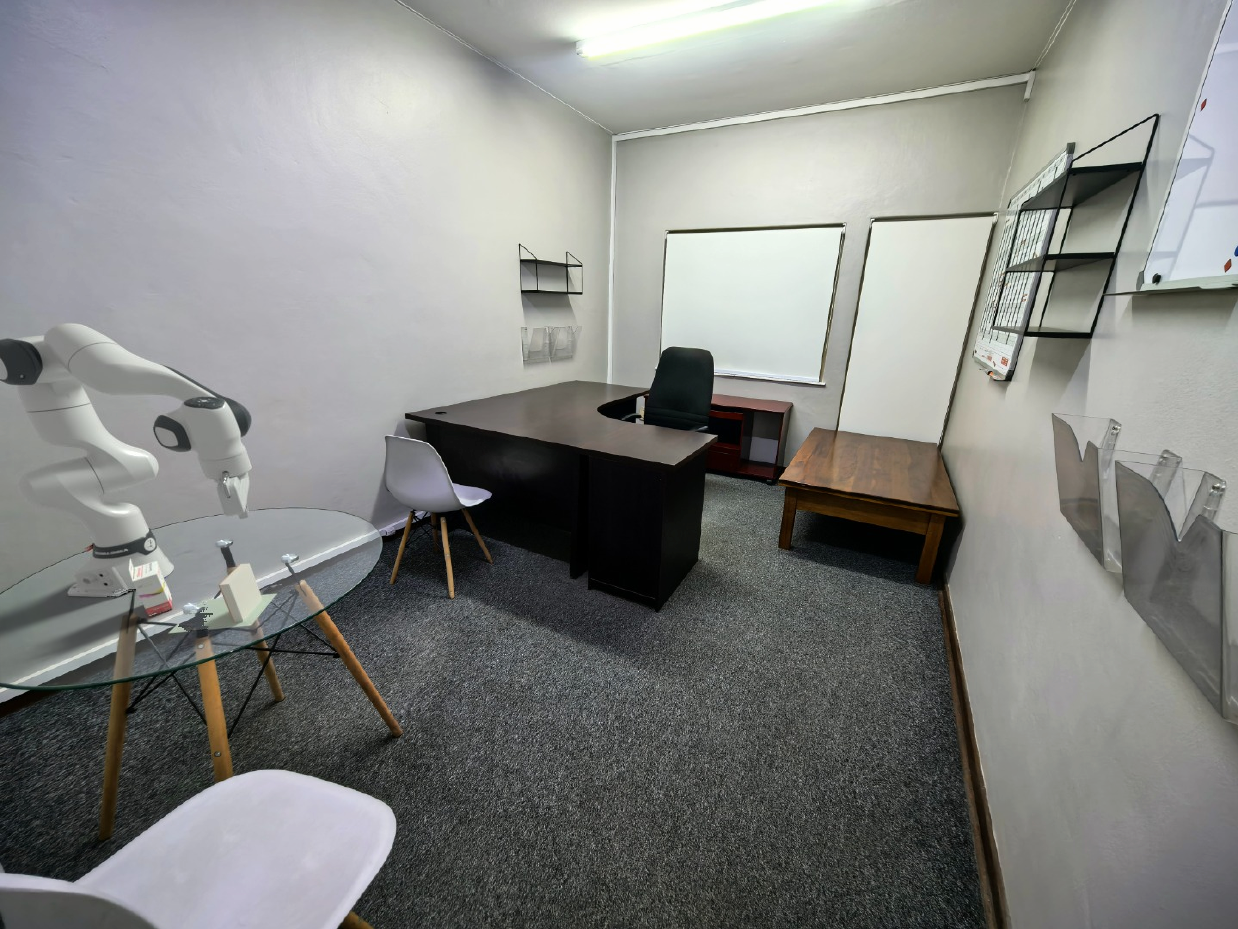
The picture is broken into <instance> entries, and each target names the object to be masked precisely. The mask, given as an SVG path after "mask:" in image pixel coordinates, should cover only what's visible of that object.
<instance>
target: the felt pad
mask: <svg viewBox="0 0 1238 929" xmlns="http://www.w3.org/2000/svg"><path fill="white" fill-rule="evenodd" d="M277 594H278V593H266V594H261V596H262V600H261V601H260V603H259V604H258V605H257V606H256V607H255V608H254V610H253V611H252V612H251V613H250V614H249V615H248V617H247V618H246V619H245V620H244V621H241V622H233V620H232V617H231V615H230V613H229V610H228V608H227V605H226V603H225V600H224V598H223V597H221V598H220V597H219V598H210V599H208V598H207V599H202V600H201V601H200V602H199V603H198V604H196V606H195V607H208V608H207V610H206V609H205V610H204V612H203V610H202V612H200V613H213V615H210V617H209V615H207V617H206V618H203V619H204V621H207V622H204V626H209V627H208V628H209V629H208V628H207V629H208V630H207V631H210V630H219V629H220V630H221V629H231V628H232V629H233V628H241V627H242V628H243V627H251V626H252V625H253V624H254V623H255V621H257V619H258V618H259V616H260V615H261V614H262V613H263V612H264V610H265V609H267V607H268V606H269V604H270V603H271V602H272V601H273V600H274V598H275V597H276V596H277ZM205 601H207V602H205ZM203 602H204V604H205V603H207V604H206V605H203ZM209 609H210V610H209ZM192 612H193V613H195V612H194V611H192V610H191V611H189V613H192ZM189 613H187V615H188V616H189ZM205 616H206V615H205ZM205 619H206V620H205ZM178 626H179V622H178V623H177V624H176V625H175V626H174V627H173V628H172V629H171V630H170V631H169V632H168V634H175V633H187V632H188V631H186V630H184V628H182V627H178ZM202 626H203V625H202ZM188 633H189V632H188Z"/></svg>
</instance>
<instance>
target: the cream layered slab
mask: <svg viewBox="0 0 1238 929" xmlns="http://www.w3.org/2000/svg"><path fill="white" fill-rule="evenodd" d="M218 587H219V590H220V592H221V595H222V598H224V600H225V603H226V605H227V608H228V610H229V613H230V615H231V617H232V620H233V622H241V621H244V620H245V619H246V618H247V617H248V615H249V614H250V613H251V612H252V611H253V610H254V608H255V607H256V606H257V605H258V604H259V603H260V601H261V600H262V596H261V595H262V592H261V591H260V589H259V585H258V582H257V580H256V578H255V575H254V571H253V569H252V566H251V563H240V564H238V565H237V566H236V567H235V568H234V569H233V570H232V571H231V572H229V574H228V575H227V576H226V577H225V578H224V579H223V580H222V581H221V582H220V583H219V584H218Z"/></svg>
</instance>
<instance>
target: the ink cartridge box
mask: <svg viewBox="0 0 1238 929" xmlns="http://www.w3.org/2000/svg"><path fill="white" fill-rule="evenodd" d="M129 574H130V577H131V580H132V583H133V585H134V587H135V589H136V590H135V591H136V593H137V595H138V597H139V599H140V601H141V603H142V606H143V607H144V609H145V611H146V613H147V615H148V616H149V615H152V614H154V613H160V612H163V613H165V611H166V612H168V611H167V610H169V611H171V610H170V609H172V610H173V598H172V597H171V595H172V594H171V592H170V588H169V586H168V584H167V582H166V580H165V578H164V577H163V575H162V573H161V570H160V568H159V566H158V563H157V561H155V562H151V563H148V564H144V565H141V566H138V567H134V568H133V564H132V561H131V559H130V561H129ZM160 614H161V613H160Z"/></svg>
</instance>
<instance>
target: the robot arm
mask: <svg viewBox="0 0 1238 929" xmlns="http://www.w3.org/2000/svg"><path fill="white" fill-rule="evenodd" d="M0 381H1V382H2V383H5V384H6V385H11V386H16V389H17V392H18V396H19V398H20V401H21V404H22V406H23V408H24V411H26V414H27V416H28V417H29V419H30V422H31V424H32V425H33V428H34V429H35V431H36V434H37V435H38V437H39V439H41V440H42V441H44V443H47V444H49V445H52V446H58V447H66V448H76V449H81V450H84V451H85V453H86V455H85V456H83V457H79V458H74V459H69V460H65V461H64V460H63V461H59V462H54V463H49V464H45V465H43V466H39V467H37V468H34V469H31V470H29V471H26V472H23V473H22V474H21V475H20V477H19V478H18V480H17V484H16V488H17V492H18V494H19V496H20V497H21V498H22V499H23V500H24V501H25V502H27V503H28V504H30V505H32V506H36V507H39V508H45V509H50V510H51V509H52V510H56V511H59V512H62V513H65V514H68V515H69V516H71V517H73V518H75V519H76V520H77V521H78V522H79V523H80V524H81V525H82V526H83V527H84V528H85V530H86V532H87V533H88V535H89V536H90V538H91V540H92V543H91V544H90V545H88V546H87V547H85V548H84V550H86V551H85V552H86V553H88V552H89V551H92V554H91V556H89V557H88V558H87V560H85V561H84V562H83V563H82V564H81V565H80V566H79V567H78V568H76V570H75V572H74V578H75V582H76V583H74V584H73V585H71V587H70V588H69V589H68V590H67V596H68V597H93V598H108V597H107V596H112V595H117V594H120V593H121V592H123V589H124V591H126V590H128V589H135V587H134V585H133V583H132V580H131V577H130V574H129V561H130V559H131V561H132V564H133V568H134V567H138V566H141V565H144V564H148V563H151V562H155V561H157V563H158V566H159V568H160V570H161V573H162V575H163V577H164V579H165V578H166V577H168V576H169V575H170V574H171V573H172V572H173V571H174V569H175V565H174V564H173V563H172V562H171V561H170V560H169V558H168V557H167V556H166V555H165V554H164V552H163V551H162V549H161V547H159V545H158V544H157V540H156V539H157V538H156V537H155V534H154V532H153V530H152V529H151V528H150V527H149V526H148V524H147V522H146V520H145V518H144V515H143V512H142V511H141V509H140V507H138V506H137V505H136V504H135V505H134V504H132V503H129V502H122V501H121V502H120V501H108V500H107V501H106V500H103V499H101V497H102V496H104V495H108V494H111V493H116V492H118V491H119V492H120V491H123V490H128V489H130V488H135V487H137V486H140V485H142V484H144V483H147V482H149V481H152V480H154V479H156V477H157V475H158V474H159V473H158V472H159V470H160V466H159V462H158V460H157V458H156V457H155V456H154V455H153V454H152V453H151V452H149V451H147V450H145V449H143V448H141V447H136V446H132V445H130V444H127V443H125V442H123V441H121V440H119V439H118V438H116V437H115V436H114V435H112V434H111V433H110V432H109V431H108V430H107V429H106V428H105V426H104V424H103V422H101V420H100V418H99V416H98V413H97V412H96V410H95V408H94V406H93V403H92V402H91V400H90V398H89V396H88V394H87V392H86V390H85V389H84V387H83V385H85V386H86V387H89V388H90V389H92V390H95V391H97V392H100V393H102V394H105V395H111V396H137V395H138V396H140V395H141V396H143V395H147V396H148V395H150V396H151V395H153V396H154V395H155V396H166V397H167V396H168V397H172V398H175V399H178V400H179V401H182V403H181V405H180V407H177V408H176V409H173V410H171V411H168V412H165V413H162V414H159V415H158V416H157V417H156V418H155V420H154V423H153V427H152V428H153V429H152V430H153V433H154V437H155V439H156V440H157V443H159V445H160V446H161V447H163V448H165V449H167V450H170V451H173V452H176V453H186V452H187V453H188V452H190V451H193V452H196V454H197V458H198V462H199V464H200V467H201V469H202V473H203V476H204V478H206V479H207V480H208V479H209V480H213V482H214V483H216V492H217V495H218V498H219V502H220V505H221V508H222V511H223V514H224V515H225V517H233V516H238V518H239V519H240V520H243V519H248V518H249V513H250V511H249V508H248V502H247V501H248V494H249V489H250V477H249V471H251V470H252V468H253V467H252V466H253V465H252V464H251V460H250V456H249V454H248V452H247V448H246V446H245V445H244V444H243V442H242V438H243V437H245V436H246V435H247V434H248V432H249V430H250V429H251V427H252V426H251V425H252V416H251V414H250V412H249V410H248V409H247V408H246V407H245V406H244V405H243V404H241V403H240V402H238V401H237V400H234V399H232V398H229V397H227V396H223V395H221V394H219V393H217V392H215V391H214V390H212V389H210V388H208V387H207V386H206V385H204V384H202V383H200V382H198V381H196V380H194V379H193V378H191V377H189V376H187V375H185V374H184V373H182V372H181V371H178V370H177V369H174V368H173V367H171V366H167V365H164V364H161V363H157V362H155V361H151V360H148V359H146V358H143V357H142V356H139V355H136V354H134V353H133V352H131V351H128V350H127V349H125V348H124V347H123V346H122V345H121V344H120V343H117V342H116V341H114V340H113V339H112V338H110V337H108V336H107V335H106V334H103V333H101V332H99V331H98V330H96V329H93V328H91V327H89V326H87V325H84V324H80V323H77V322H76V323H74V322H66V323H61V324H56V325H55V326H52V327H51V328H49V329H48V330H47V331H46V332H45V333H44V334H43V335H32V336H23V337H18V338H17V337H16V338H1V339H0ZM82 384H83V385H82ZM119 589H121V590H119ZM115 590H118V591H116V592H115ZM114 592H115V593H114Z"/></svg>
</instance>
